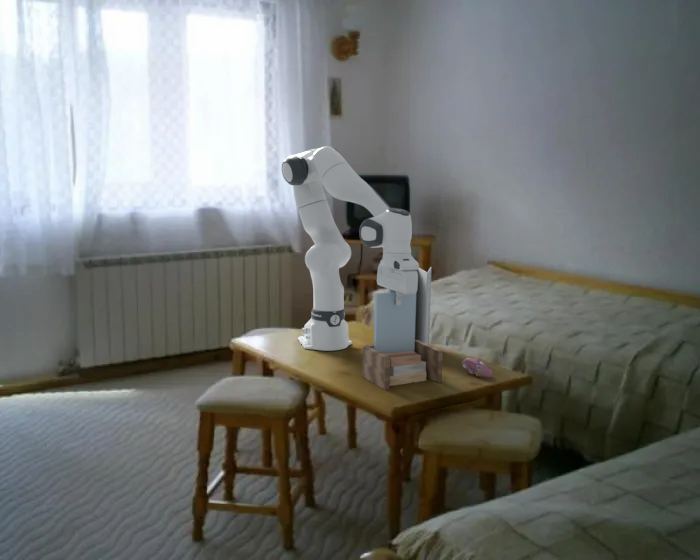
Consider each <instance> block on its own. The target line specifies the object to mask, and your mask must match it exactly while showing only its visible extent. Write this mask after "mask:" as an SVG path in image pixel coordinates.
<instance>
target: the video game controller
mask: <svg viewBox="0 0 700 560" xmlns="http://www.w3.org/2000/svg"><path fill="white" fill-rule="evenodd" d="M461 365H462V367H463V368H464V369H465V370H466V371H467V372H468V373H469V374H470V375H472V374H473V375H475V376H476V377H478V376H479V377H478V378H480V377H482V376H483V377H486V378H489V379H491V378H493V376H494V373H493V370H491V368H489V367H488V366H487V365H486V364H485V363H484V362H483V361H480V360H479V359H478V358H474V357H467V358H465V359H463V360H462V361H461ZM490 377H491V378H490Z"/></svg>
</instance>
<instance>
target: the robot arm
mask: <svg viewBox="0 0 700 560" xmlns="http://www.w3.org/2000/svg"><path fill="white" fill-rule="evenodd" d="M281 163H282V164H281V174H282V176H283V179H284V180H285V182H286V183H288V185H290V186H292V187H293V194H294V200H295V204H296V209H297V211H298V214H299V217H300V220H301V223H302V226H303V230H304V231H305V232H306V233H307V235H309V237H310V238H311V240H312V242H313V245H312V246H311V247H309V249H308V250H307V251H306V253H305V256H304V263H305V265H306V268H307V269H308V270H309V274H310V279H311V283H312V288H313V289H312V291H313V298H312V299H313V304H312V305H313V307H312V308H311V311H310V312H311V315H310V317H311V318H310V319H308V321H307V322H306V323H305V324H304V327H302V328H301V334H302V335H300V336H298V337H297V341H298V340H299V341H298V342H299V343H300V345H301V344H302V345H301V346H302V347H303V349H306V350H315V351H316V350H317V351H324V352H326V351H329V352H332V351H340V350H341V351H342V350H344V349H346V348H348V347H349V346H350V345H352V343H353V342H352V340H350V336H349V323H348V322H347V321H346V320H345V318H346V311H345V310H346V309H345V307H344V306H345V305H344V304H345V301H344V300H345V299H344V298H345V292H344V291H345V288H344V285H343V283H342V281H341V277H340V272H339V271H340V268H343V267H345V266H346V265H347V264H348V262H349V260H350V259H351V257H352V249H351V247H350V245H349V244H348V242H347V241H346V240H345V239H344V237H343V235H342V233H341V232H340V230H339V228H338V226H337V224H336V222H335V220H334V216H333V215H332V211H331V208H330V205H329V201H328V200H327V199H328V198H327V196H326V193H325V191H326V192H327V193H329V194H330V196H332V197H333V198H335V199H336V200H339V201H343V202H350V203H353V204H357V205H360V206H362V207H364V208H365V209H366V210H367V211H368V212H370V214H371V215H372V217H369V218H366V219H364V220H363V221H362V222H361V224H360V226H359V230H358V234H359V239H360V242H361V243H362V244H363V245H364V246H366V247H367V248H371V249H375V248H376V249H377V248H382V258H381V260H379V261H380V262H379V264H378V266H377V273H376V284H377V285H378V286H380V287H383V288H385V289H387V292H396V295H397V296H396V299H394V304H395V305H397V306H399V305H401V302H402V298H403V296H404V294H405V295H415V294H416V292H417V287H418V273H417V271H416V270H418V269H419V268H420V264H419V261H417V260H416V259H415V258H414V256H413V255H412V248H411V240H412V237H413V233H412V232H413V225H412V223H413V222H412V215H411V214H410V212H409V211H408V210H405V209H402V208H397V207H391V206H390V205H389V203H387V201H386V200H385V199H384V198H383V197H382V196H381V195H380V194H379V192H378V191H377V190H375V188H373V186H371V185H370V184H369V183H368V182H367V181H365V180H364V179H363V178H361V176H360V175H359V174H358V173H357V172H356V171H355V170H354V169H353V168H352V166H351V165H350V164H349V163H348V161H347V160H346V159H345V158H344V157H343V156H342V155H341V154H340V152H339V150H337V148H336V147H333V146H327V145H325V146H321V147H318V148H312V149H307V150H306V151H302V152H299V153H296V154H291V155H289V156H287V157H285V158H284V160H283V161H282V162H281ZM324 189H325V191H324Z"/></svg>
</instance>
